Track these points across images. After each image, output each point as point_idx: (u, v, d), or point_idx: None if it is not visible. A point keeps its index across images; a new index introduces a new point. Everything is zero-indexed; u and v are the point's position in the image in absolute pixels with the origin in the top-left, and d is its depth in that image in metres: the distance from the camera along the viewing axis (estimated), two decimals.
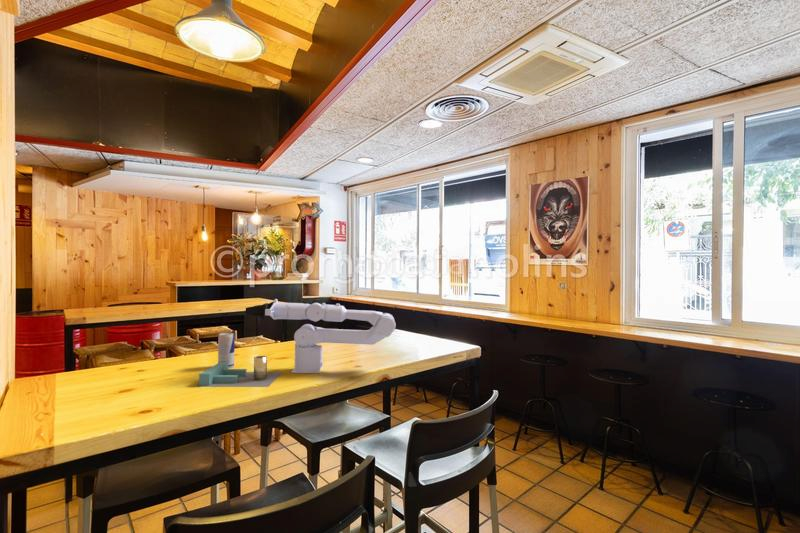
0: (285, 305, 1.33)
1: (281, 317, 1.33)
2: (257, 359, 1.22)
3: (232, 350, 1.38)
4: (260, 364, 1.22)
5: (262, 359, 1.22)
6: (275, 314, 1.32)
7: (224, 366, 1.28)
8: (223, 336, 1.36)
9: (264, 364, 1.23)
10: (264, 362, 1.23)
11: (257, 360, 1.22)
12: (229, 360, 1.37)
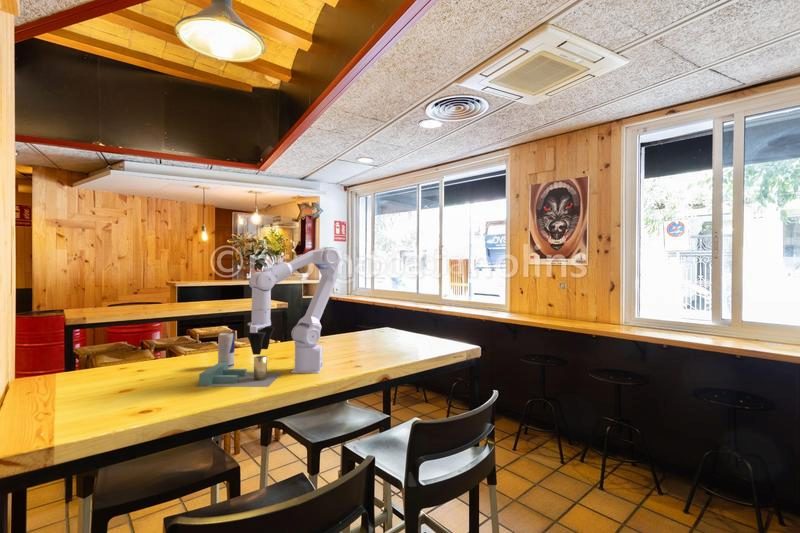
0: (252, 313, 1.22)
1: (266, 316, 1.22)
2: (257, 359, 1.22)
3: (232, 350, 1.38)
4: (260, 364, 1.22)
5: (262, 359, 1.22)
6: (262, 323, 1.22)
7: (224, 366, 1.28)
8: (223, 336, 1.36)
9: (264, 364, 1.23)
10: (264, 362, 1.23)
11: (257, 360, 1.22)
12: (229, 360, 1.37)
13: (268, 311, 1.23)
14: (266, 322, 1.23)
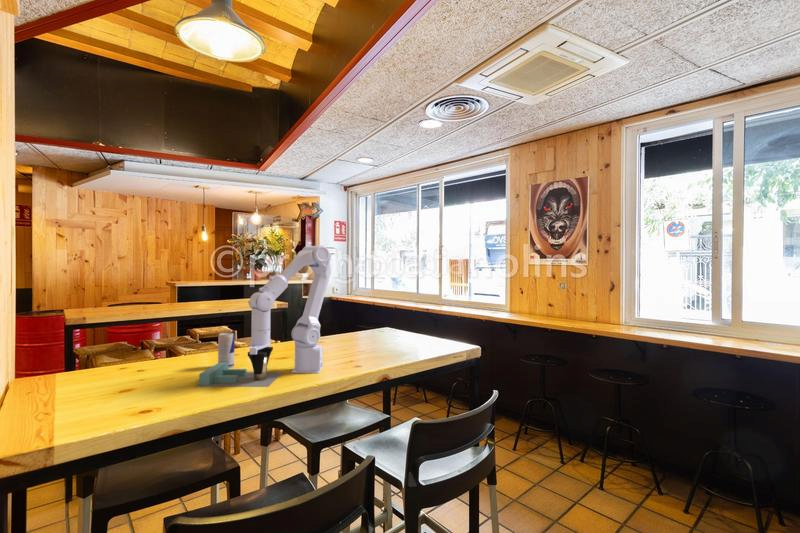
0: (252, 333, 1.22)
1: (265, 337, 1.22)
2: None
3: (232, 350, 1.38)
4: None
5: None
6: (262, 343, 1.22)
7: (224, 366, 1.28)
8: (223, 336, 1.36)
9: (264, 364, 1.23)
10: (264, 362, 1.23)
11: None
12: (229, 360, 1.37)
13: (268, 332, 1.23)
14: (266, 343, 1.23)
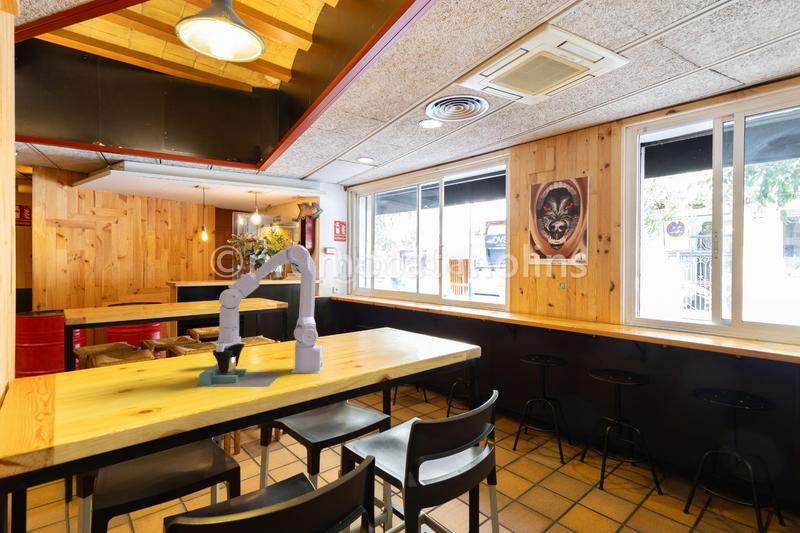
0: (220, 331, 1.22)
1: (233, 334, 1.22)
2: None
3: None
4: None
5: (230, 359, 1.22)
6: (229, 341, 1.21)
7: None
8: None
9: (232, 364, 1.23)
10: (232, 362, 1.23)
11: None
12: None
13: (236, 329, 1.23)
14: (234, 340, 1.22)
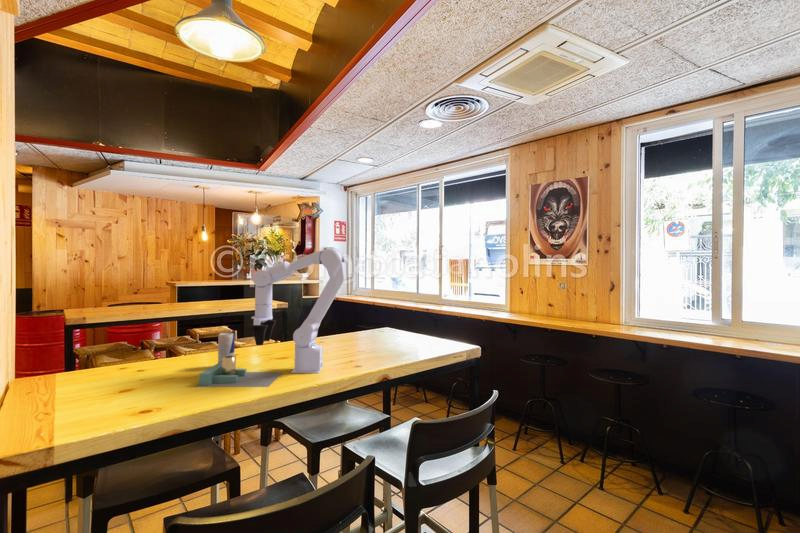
0: (255, 307, 1.34)
1: (268, 311, 1.34)
2: (225, 359, 1.22)
3: (232, 350, 1.38)
4: (228, 364, 1.22)
5: (230, 359, 1.22)
6: (264, 316, 1.33)
7: None
8: (223, 336, 1.36)
9: (232, 364, 1.23)
10: (233, 362, 1.23)
11: (225, 360, 1.22)
12: None
13: (270, 306, 1.35)
14: (268, 316, 1.34)
